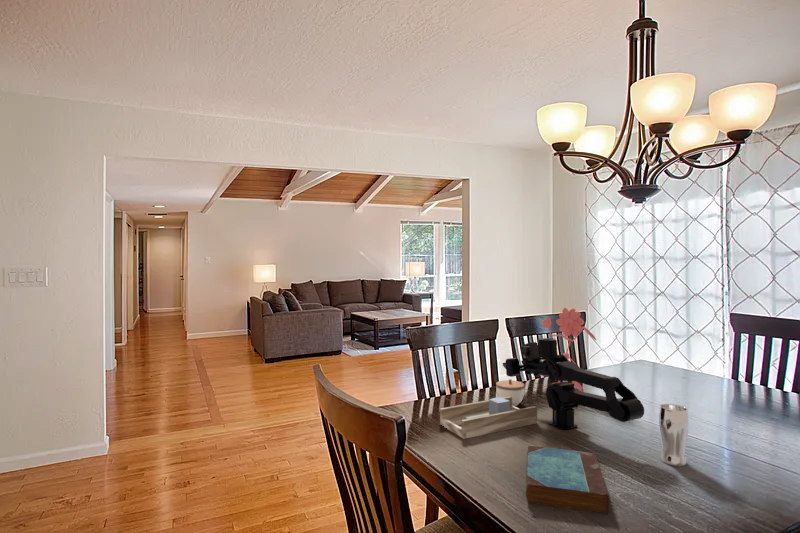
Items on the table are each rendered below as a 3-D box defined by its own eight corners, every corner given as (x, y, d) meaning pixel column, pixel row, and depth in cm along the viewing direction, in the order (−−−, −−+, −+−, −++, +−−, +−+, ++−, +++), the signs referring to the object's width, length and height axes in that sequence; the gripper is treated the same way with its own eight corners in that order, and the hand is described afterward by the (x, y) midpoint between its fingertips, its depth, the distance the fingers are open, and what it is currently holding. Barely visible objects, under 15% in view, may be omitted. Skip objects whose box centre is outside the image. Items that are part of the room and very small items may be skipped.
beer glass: (661, 454, 134) (662, 401, 134) (690, 460, 130) (690, 406, 129) (656, 462, 129) (656, 407, 128) (686, 469, 124) (686, 413, 124)
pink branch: (588, 400, 184) (589, 311, 184) (534, 386, 205) (535, 306, 205) (609, 394, 194) (610, 309, 194) (554, 381, 214) (555, 304, 214)
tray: (537, 423, 159) (537, 407, 159) (463, 438, 146) (463, 421, 146) (509, 411, 172) (509, 396, 172) (440, 424, 159) (439, 408, 158)
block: (509, 415, 160) (509, 401, 160) (498, 417, 158) (498, 403, 158) (500, 411, 164) (500, 397, 164) (488, 413, 162) (488, 399, 162)
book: (609, 516, 103) (609, 494, 103) (525, 505, 108) (525, 483, 107) (595, 471, 125) (595, 452, 125) (527, 463, 129) (527, 445, 129)
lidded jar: (522, 399, 186) (522, 376, 186) (526, 408, 175) (526, 383, 175) (494, 399, 187) (494, 375, 187) (497, 407, 176) (497, 382, 176)
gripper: (560, 342, 170) (529, 340, 184) (520, 346, 161) (491, 343, 175) (562, 373, 169) (531, 368, 183) (522, 379, 161) (493, 373, 174)
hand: (512, 363), depth 179 cm, fingers open, 9 cm apart
